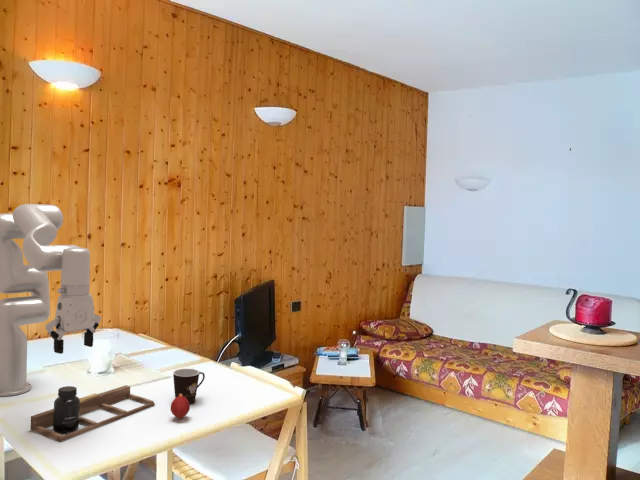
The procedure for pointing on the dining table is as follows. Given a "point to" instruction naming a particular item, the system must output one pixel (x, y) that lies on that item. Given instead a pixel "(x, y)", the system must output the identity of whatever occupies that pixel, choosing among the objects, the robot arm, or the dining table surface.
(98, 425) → the divided wooden rack
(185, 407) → the onion
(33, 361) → the dining table surface
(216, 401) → the dining table surface
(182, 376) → the coffee mug
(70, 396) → the supplement bottle
